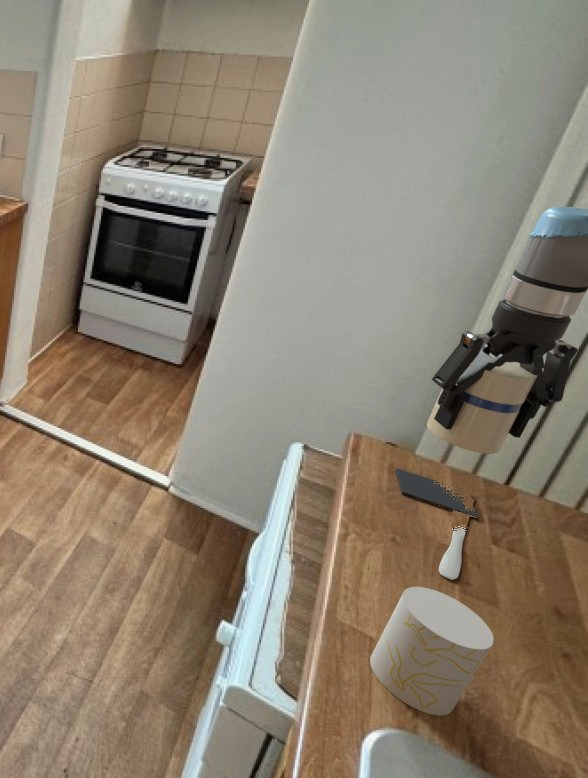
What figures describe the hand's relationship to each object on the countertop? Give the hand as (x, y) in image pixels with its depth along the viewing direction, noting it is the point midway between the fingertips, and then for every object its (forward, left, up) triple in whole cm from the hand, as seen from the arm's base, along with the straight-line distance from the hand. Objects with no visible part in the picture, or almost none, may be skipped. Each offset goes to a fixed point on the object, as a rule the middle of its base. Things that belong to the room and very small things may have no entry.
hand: (475, 428), depth 99 cm
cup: (+9, +42, -18) cm, 47 cm away
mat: (0, -5, -17) cm, 18 cm away
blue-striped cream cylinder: (+3, -5, +4) cm, 7 cm away
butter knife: (-2, +5, -18) cm, 19 cm away
